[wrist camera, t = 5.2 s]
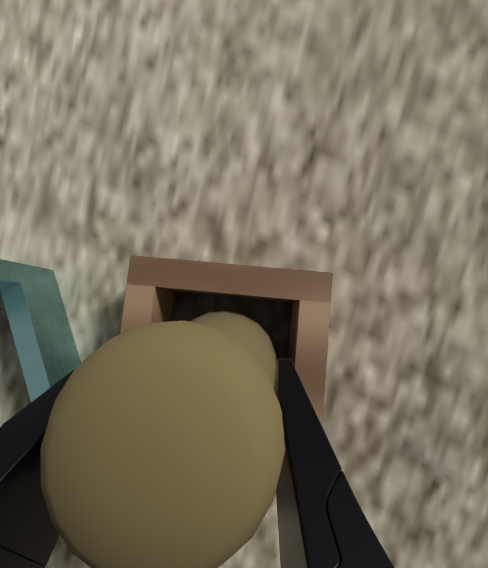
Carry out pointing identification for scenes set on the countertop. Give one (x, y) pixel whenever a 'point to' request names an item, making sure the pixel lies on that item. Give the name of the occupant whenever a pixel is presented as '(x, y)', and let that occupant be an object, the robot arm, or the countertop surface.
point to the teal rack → (37, 325)
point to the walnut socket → (242, 284)
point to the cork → (166, 445)
